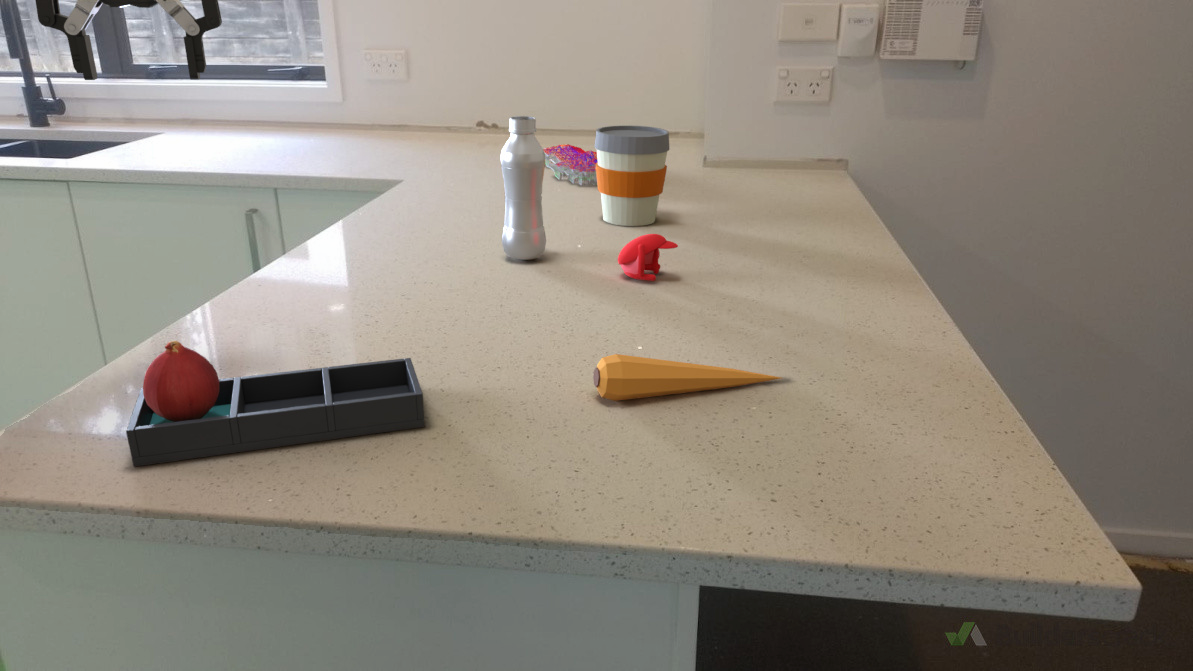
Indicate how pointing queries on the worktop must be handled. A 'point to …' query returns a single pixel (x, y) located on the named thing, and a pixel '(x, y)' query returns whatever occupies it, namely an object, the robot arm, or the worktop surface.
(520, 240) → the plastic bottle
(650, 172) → the reusable coffee cup
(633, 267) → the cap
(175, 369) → the onion
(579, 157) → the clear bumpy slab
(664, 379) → the carrot
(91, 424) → the worktop surface
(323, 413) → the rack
